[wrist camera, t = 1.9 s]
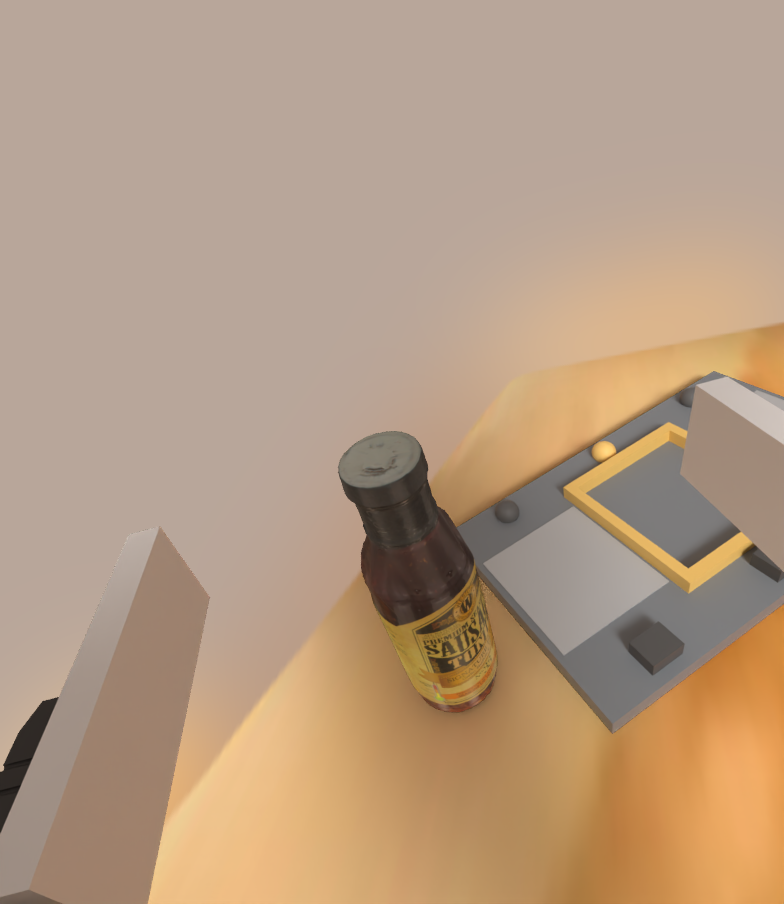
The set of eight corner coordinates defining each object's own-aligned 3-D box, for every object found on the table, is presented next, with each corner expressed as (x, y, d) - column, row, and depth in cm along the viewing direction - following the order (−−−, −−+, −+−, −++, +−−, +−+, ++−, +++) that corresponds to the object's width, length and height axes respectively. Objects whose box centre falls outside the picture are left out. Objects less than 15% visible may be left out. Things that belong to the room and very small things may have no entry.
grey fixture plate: (711, 383, 48) (715, 358, 46) (950, 477, 34) (968, 446, 32) (451, 543, 42) (444, 522, 40) (612, 733, 28) (612, 713, 27)
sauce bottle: (466, 738, 30) (370, 541, 18) (395, 680, 34) (278, 487, 22) (521, 654, 33) (470, 436, 21) (450, 610, 37) (373, 406, 25)
